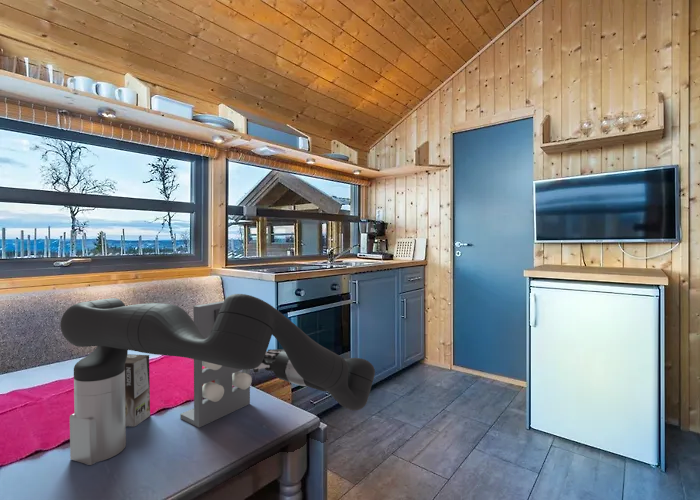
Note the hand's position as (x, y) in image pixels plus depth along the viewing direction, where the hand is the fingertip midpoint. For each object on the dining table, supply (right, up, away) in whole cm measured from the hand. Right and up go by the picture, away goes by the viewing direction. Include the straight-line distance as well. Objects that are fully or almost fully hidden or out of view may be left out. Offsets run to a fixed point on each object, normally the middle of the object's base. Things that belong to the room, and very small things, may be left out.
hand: (249, 353), depth 99 cm
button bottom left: (-8, -10, -5) cm, 14 cm away
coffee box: (-30, -16, -4) cm, 35 cm away
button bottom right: (-3, -10, +2) cm, 11 cm away
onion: (-17, -16, +14) cm, 27 cm away
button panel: (-9, -16, +1) cm, 18 cm away
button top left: (-8, -2, -5) cm, 10 cm away
